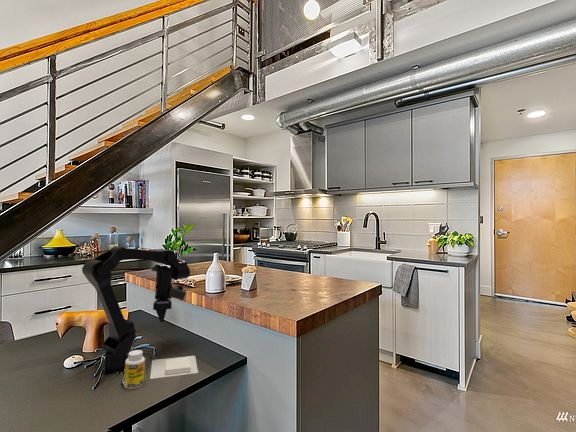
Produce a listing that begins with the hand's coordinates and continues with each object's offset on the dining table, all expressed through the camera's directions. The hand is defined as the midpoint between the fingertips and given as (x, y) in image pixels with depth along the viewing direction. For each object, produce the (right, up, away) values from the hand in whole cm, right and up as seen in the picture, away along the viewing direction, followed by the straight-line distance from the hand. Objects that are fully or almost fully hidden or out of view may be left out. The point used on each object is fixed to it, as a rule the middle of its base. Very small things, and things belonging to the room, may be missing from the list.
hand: (161, 321), depth 122 cm
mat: (+9, -12, -12) cm, 19 cm away
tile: (+9, -11, -9) cm, 17 cm away
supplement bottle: (+1, -12, -24) cm, 27 cm away
